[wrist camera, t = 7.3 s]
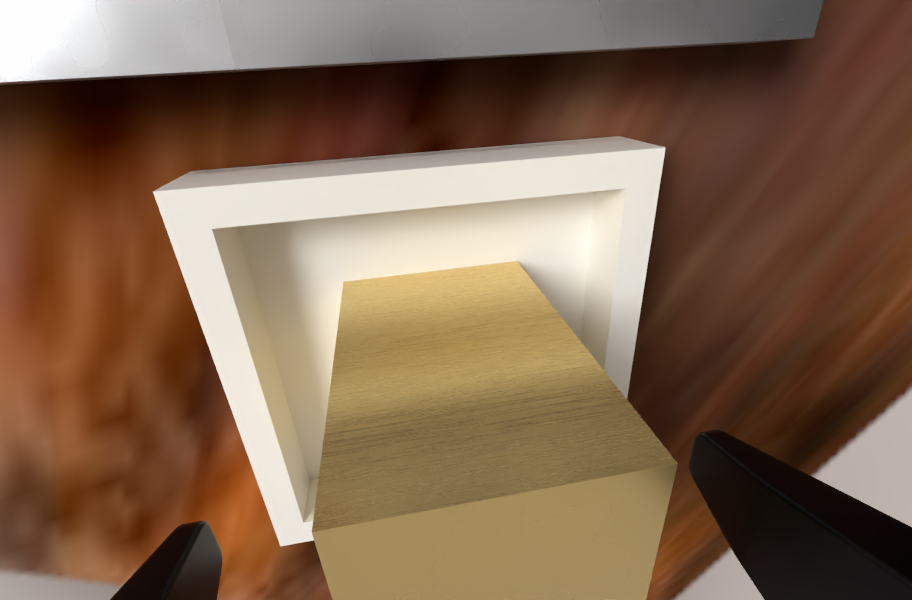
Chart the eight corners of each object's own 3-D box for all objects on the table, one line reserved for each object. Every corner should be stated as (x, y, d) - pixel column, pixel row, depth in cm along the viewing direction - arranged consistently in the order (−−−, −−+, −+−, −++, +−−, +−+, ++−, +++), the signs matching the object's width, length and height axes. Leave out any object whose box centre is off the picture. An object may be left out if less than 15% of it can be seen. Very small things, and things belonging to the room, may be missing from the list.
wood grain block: (517, 260, 12) (677, 463, 6) (515, 396, 14) (633, 653, 8) (343, 281, 11) (312, 532, 5) (369, 419, 13) (369, 717, 7)
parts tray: (619, 136, 11) (665, 147, 10) (586, 438, 16) (613, 483, 14) (191, 171, 10) (153, 191, 8) (291, 489, 15) (280, 546, 13)
